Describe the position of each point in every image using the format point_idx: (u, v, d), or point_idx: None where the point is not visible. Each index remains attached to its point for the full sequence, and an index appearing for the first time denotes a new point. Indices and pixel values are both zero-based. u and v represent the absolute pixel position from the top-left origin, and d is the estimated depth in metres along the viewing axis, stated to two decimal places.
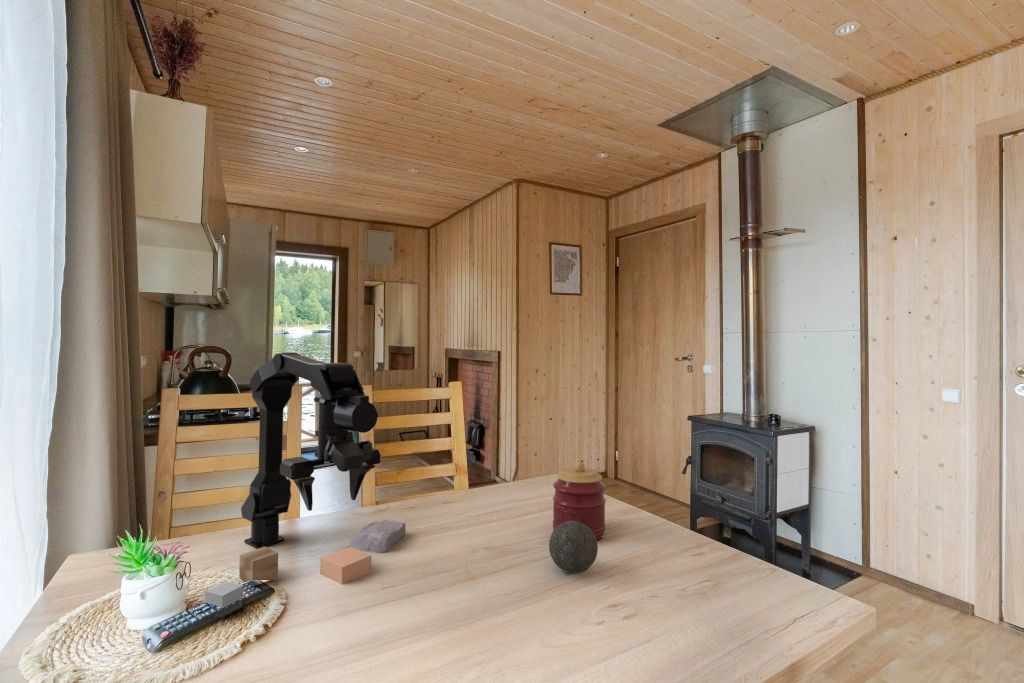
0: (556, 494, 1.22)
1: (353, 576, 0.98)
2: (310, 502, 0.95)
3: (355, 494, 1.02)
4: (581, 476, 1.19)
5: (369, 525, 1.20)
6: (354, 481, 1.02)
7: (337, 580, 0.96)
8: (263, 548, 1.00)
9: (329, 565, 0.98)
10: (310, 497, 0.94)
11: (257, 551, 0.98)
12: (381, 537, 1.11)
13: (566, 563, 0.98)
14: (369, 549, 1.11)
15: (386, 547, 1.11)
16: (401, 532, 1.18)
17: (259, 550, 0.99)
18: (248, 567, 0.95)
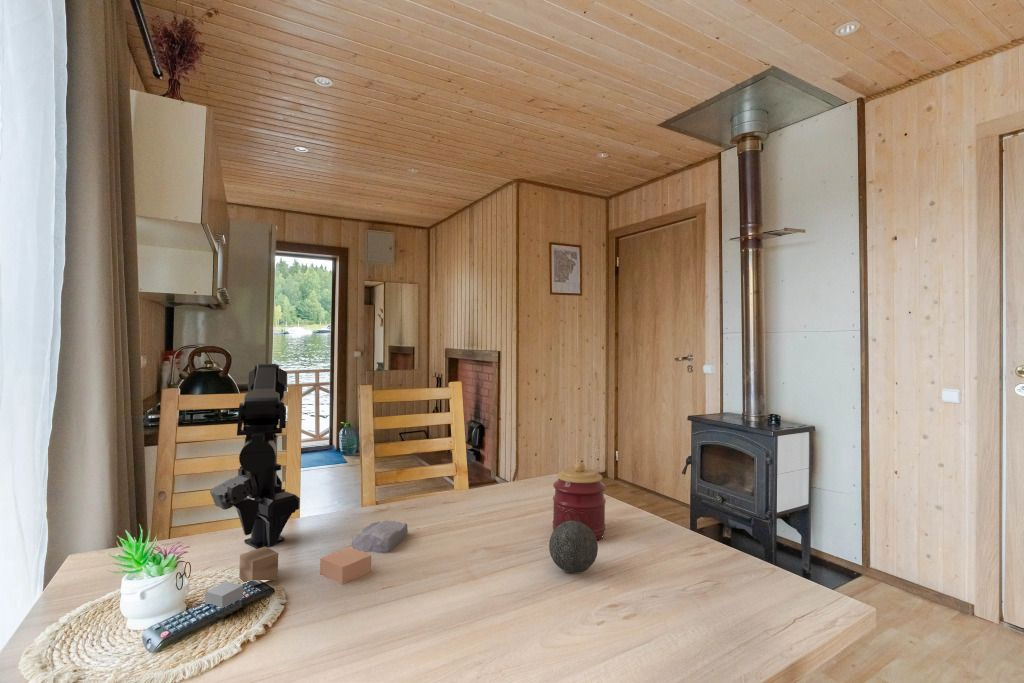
0: (556, 494, 1.22)
1: (353, 576, 0.98)
2: (242, 527, 1.00)
3: (268, 541, 0.94)
4: (581, 476, 1.19)
5: (371, 525, 1.20)
6: None
7: (337, 580, 0.96)
8: (263, 548, 1.00)
9: (330, 565, 0.98)
10: (241, 521, 1.00)
11: (257, 551, 0.98)
12: (383, 537, 1.11)
13: (566, 563, 0.98)
14: (371, 549, 1.11)
15: (388, 547, 1.11)
16: (403, 532, 1.18)
17: (259, 550, 0.99)
18: (248, 566, 0.95)
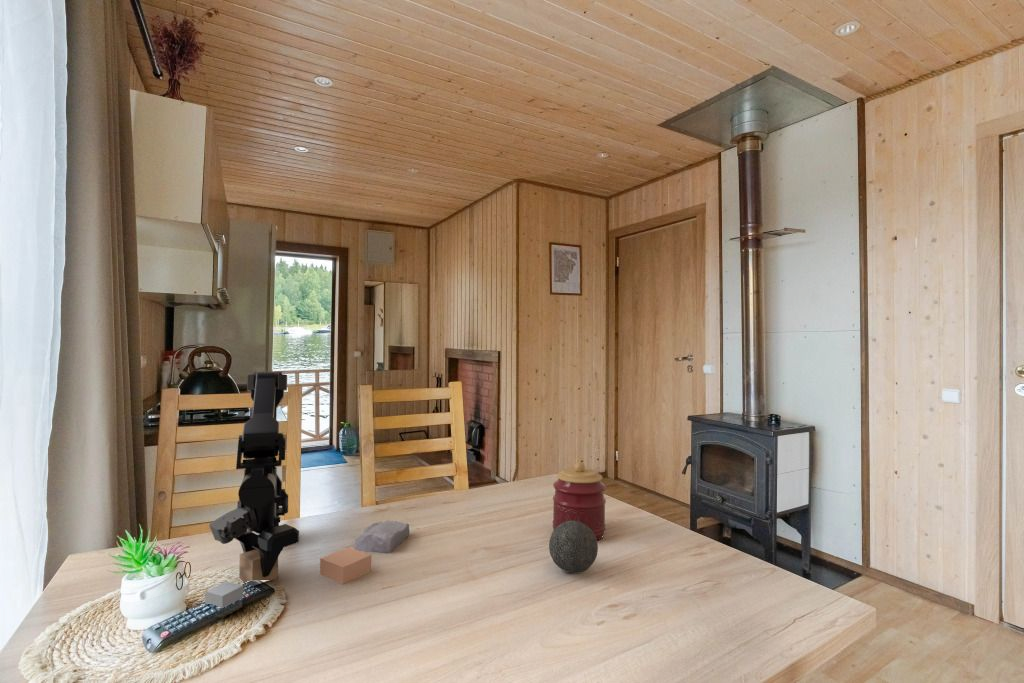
0: (556, 494, 1.22)
1: (354, 576, 0.98)
2: None
3: (262, 571, 0.95)
4: (581, 476, 1.19)
5: (373, 525, 1.20)
6: None
7: (338, 580, 0.96)
8: None
9: (330, 565, 0.98)
10: None
11: (257, 551, 0.98)
12: (385, 537, 1.10)
13: (566, 563, 0.98)
14: (373, 549, 1.11)
15: (390, 548, 1.11)
16: (404, 532, 1.18)
17: None
18: (248, 566, 0.95)
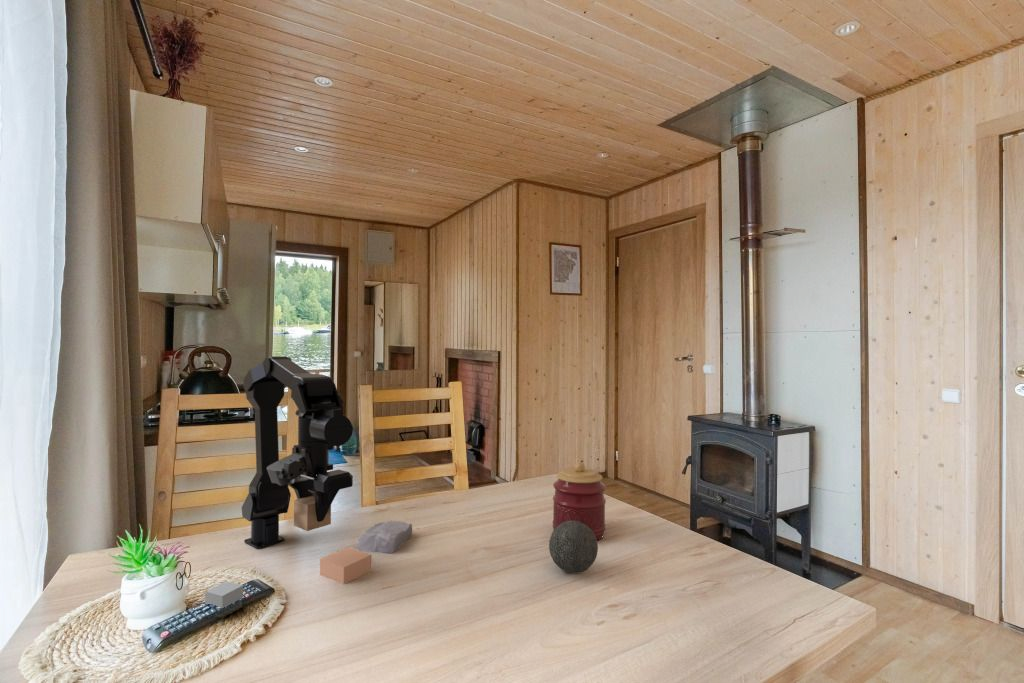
0: (556, 494, 1.22)
1: (354, 576, 0.98)
2: None
3: (317, 515, 0.97)
4: (581, 476, 1.19)
5: (375, 526, 1.20)
6: None
7: (339, 580, 0.96)
8: None
9: (330, 565, 0.98)
10: None
11: (311, 498, 1.00)
12: (389, 537, 1.10)
13: (566, 563, 0.98)
14: (377, 550, 1.11)
15: (394, 548, 1.10)
16: (407, 532, 1.18)
17: (312, 497, 1.00)
18: (303, 510, 0.96)
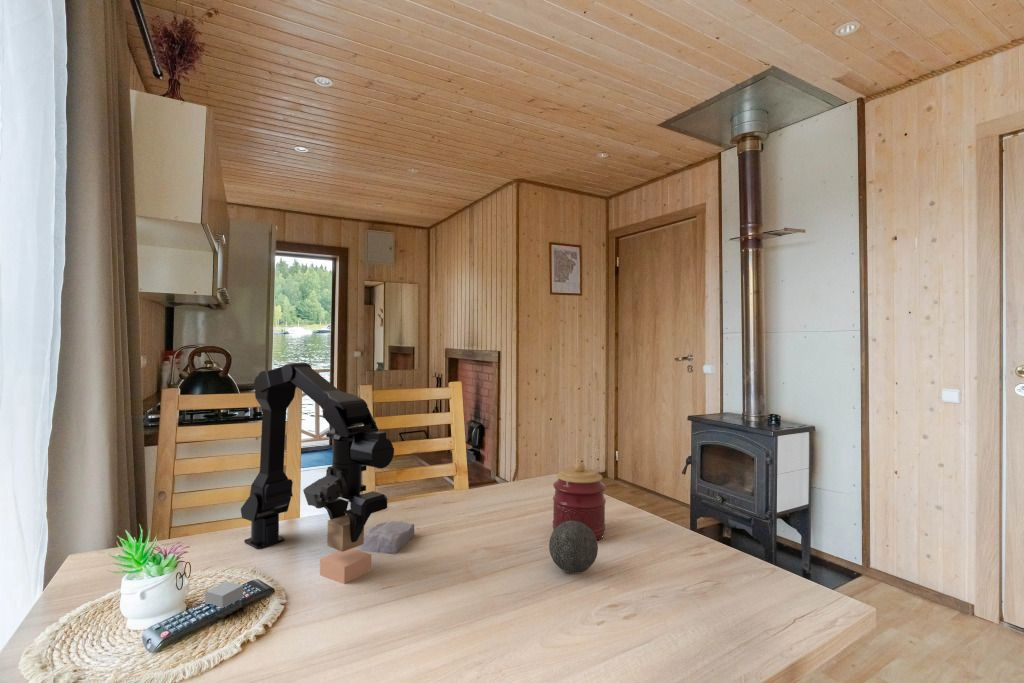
0: (556, 494, 1.22)
1: (355, 575, 0.98)
2: None
3: (351, 536, 0.98)
4: (581, 476, 1.19)
5: (378, 526, 1.20)
6: None
7: (339, 580, 0.96)
8: None
9: (330, 565, 0.98)
10: None
11: (344, 518, 1.01)
12: (391, 538, 1.10)
13: (566, 563, 0.98)
14: (379, 550, 1.10)
15: (396, 548, 1.10)
16: (410, 532, 1.18)
17: (345, 517, 1.02)
18: (338, 531, 0.98)
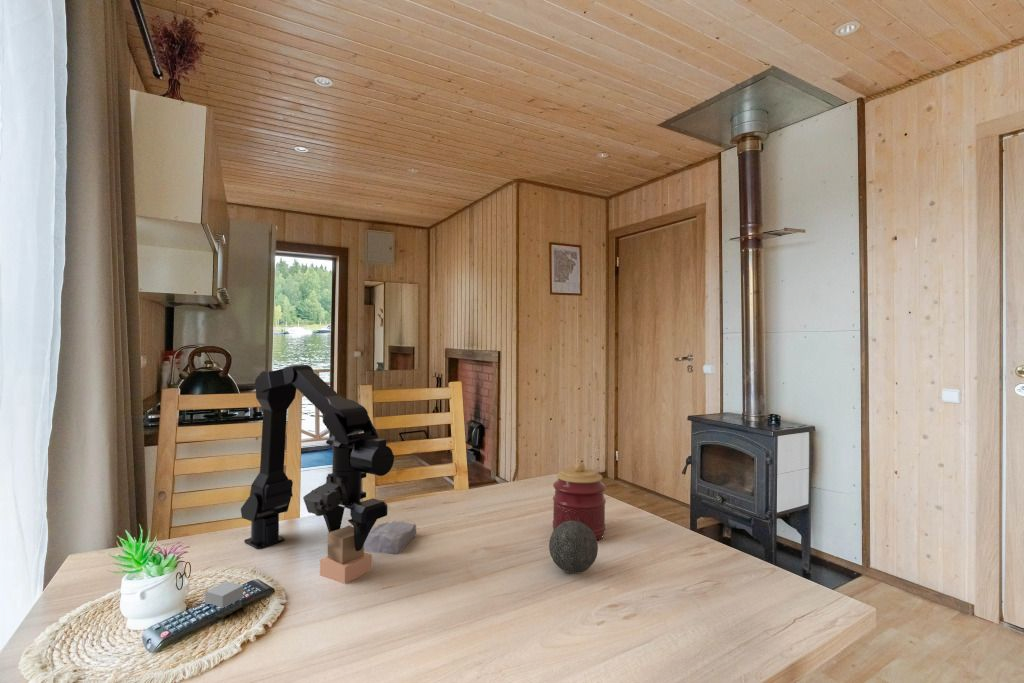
0: (556, 494, 1.22)
1: (355, 575, 0.98)
2: None
3: (355, 545, 0.98)
4: (581, 476, 1.19)
5: (379, 526, 1.19)
6: None
7: (340, 580, 0.96)
8: (348, 527, 1.03)
9: (331, 566, 0.98)
10: (329, 528, 1.02)
11: (344, 530, 1.01)
12: (393, 538, 1.10)
13: (566, 563, 0.98)
14: (381, 550, 1.10)
15: (398, 548, 1.10)
16: (412, 532, 1.17)
17: (345, 529, 1.02)
18: (337, 544, 0.98)
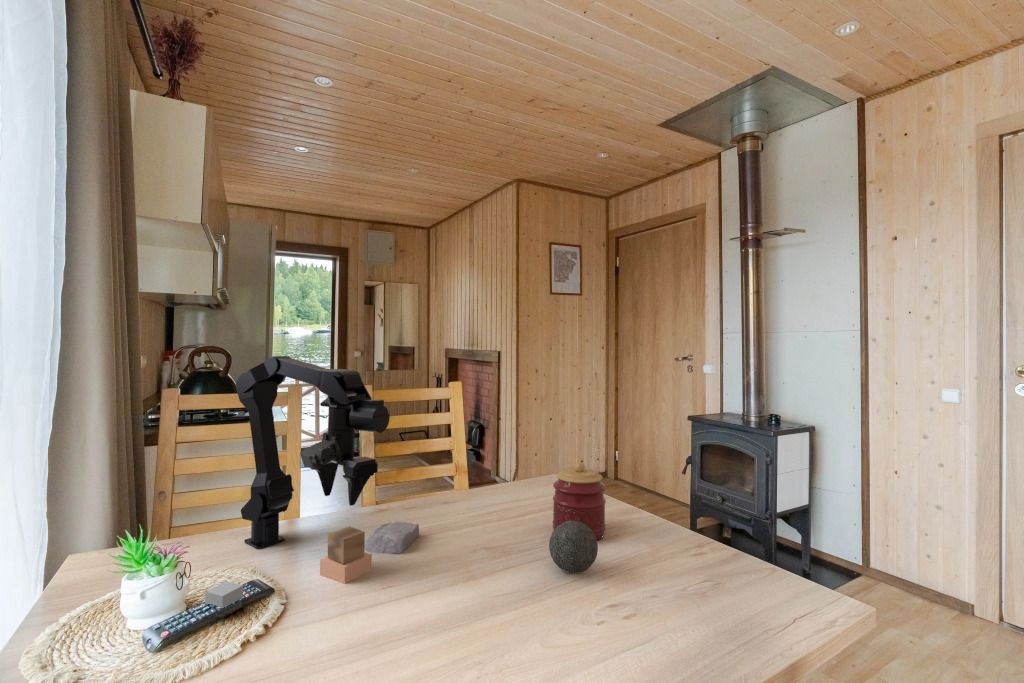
0: (556, 494, 1.22)
1: (355, 576, 0.98)
2: (323, 488, 1.10)
3: (349, 500, 1.04)
4: (581, 476, 1.19)
5: (382, 526, 1.19)
6: None
7: (340, 580, 0.96)
8: (348, 528, 1.03)
9: (331, 566, 0.98)
10: (322, 483, 1.10)
11: (344, 530, 1.01)
12: (397, 538, 1.10)
13: (566, 563, 0.98)
14: (384, 550, 1.10)
15: (402, 548, 1.10)
16: (414, 533, 1.17)
17: (345, 529, 1.02)
18: (338, 545, 0.98)
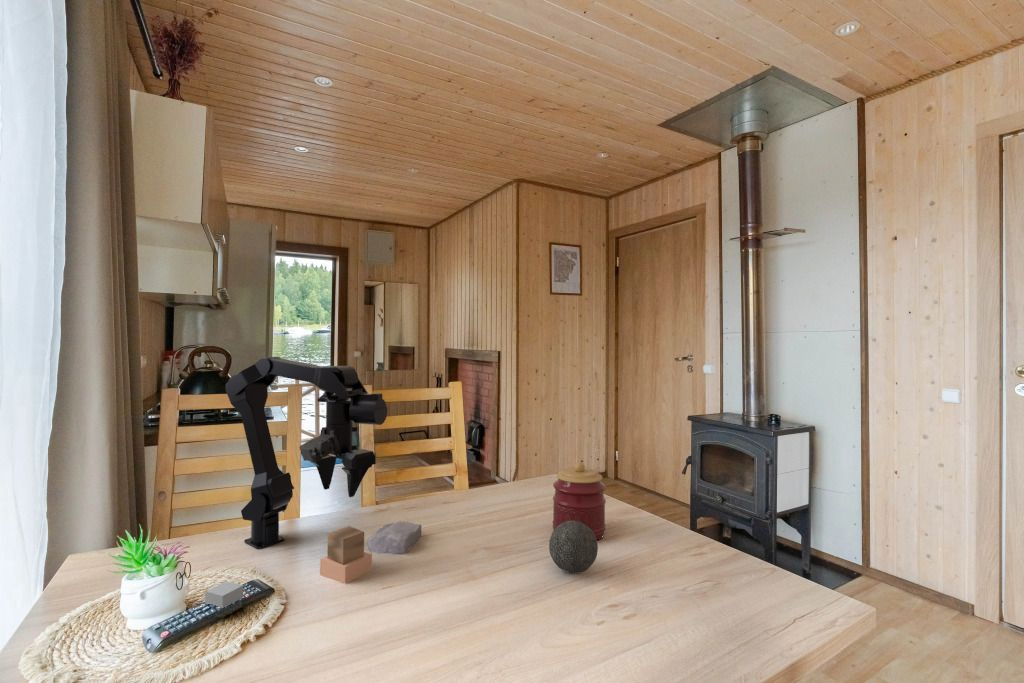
0: (556, 494, 1.22)
1: (355, 575, 0.98)
2: (322, 482, 1.13)
3: (348, 491, 1.07)
4: (581, 476, 1.19)
5: (385, 527, 1.19)
6: None
7: (340, 580, 0.96)
8: (348, 527, 1.03)
9: (331, 565, 0.98)
10: (321, 477, 1.13)
11: (344, 530, 1.01)
12: (400, 538, 1.10)
13: (565, 563, 0.98)
14: (387, 551, 1.10)
15: (405, 549, 1.10)
16: (417, 533, 1.17)
17: (345, 529, 1.02)
18: (338, 544, 0.98)
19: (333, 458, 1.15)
